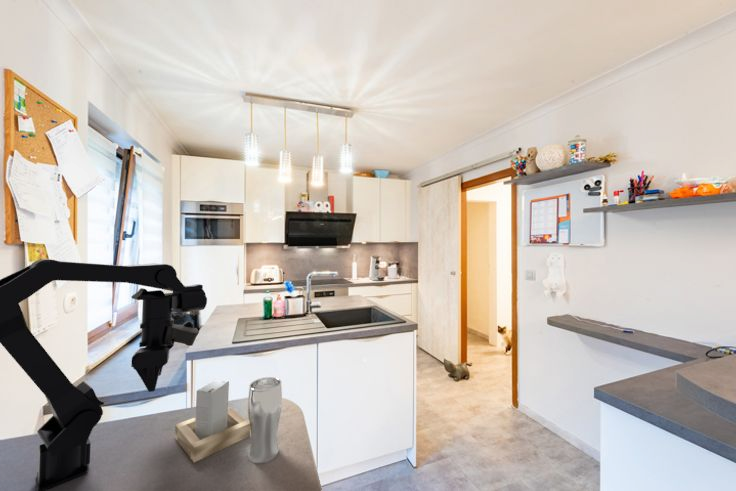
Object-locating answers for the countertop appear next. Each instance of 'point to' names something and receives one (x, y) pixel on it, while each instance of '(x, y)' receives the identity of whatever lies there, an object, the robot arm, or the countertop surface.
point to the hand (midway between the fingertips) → (155, 383)
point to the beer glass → (264, 418)
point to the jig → (215, 442)
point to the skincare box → (212, 409)
